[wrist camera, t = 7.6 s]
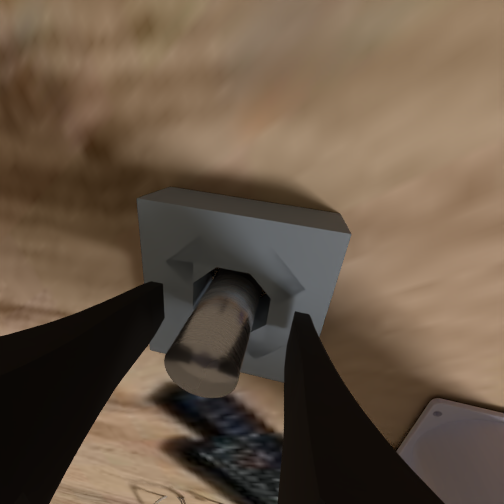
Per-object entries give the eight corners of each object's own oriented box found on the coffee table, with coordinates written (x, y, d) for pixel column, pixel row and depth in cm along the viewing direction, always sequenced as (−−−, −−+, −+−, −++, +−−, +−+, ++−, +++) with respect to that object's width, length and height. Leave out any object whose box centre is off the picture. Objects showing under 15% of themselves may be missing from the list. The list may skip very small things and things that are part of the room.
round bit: (261, 295, 15) (231, 406, 9) (220, 284, 15) (163, 385, 9) (269, 258, 14) (243, 355, 8) (225, 247, 14) (165, 332, 8)
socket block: (303, 346, 16) (303, 387, 13) (174, 317, 17) (150, 350, 14) (340, 213, 12) (351, 234, 9) (170, 186, 13) (136, 198, 10)
